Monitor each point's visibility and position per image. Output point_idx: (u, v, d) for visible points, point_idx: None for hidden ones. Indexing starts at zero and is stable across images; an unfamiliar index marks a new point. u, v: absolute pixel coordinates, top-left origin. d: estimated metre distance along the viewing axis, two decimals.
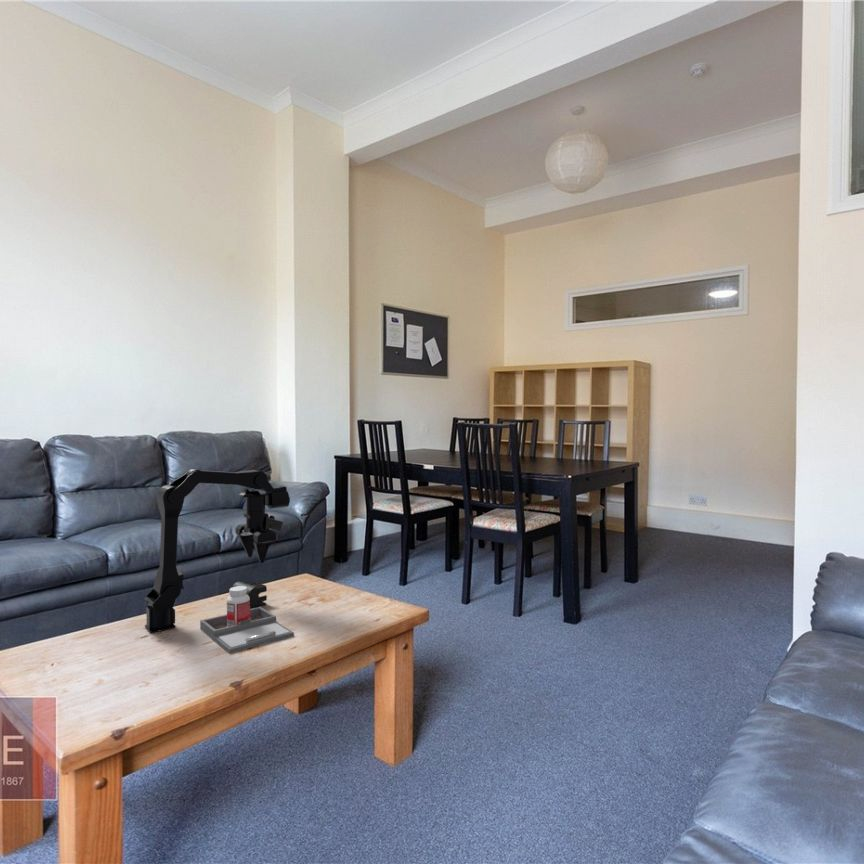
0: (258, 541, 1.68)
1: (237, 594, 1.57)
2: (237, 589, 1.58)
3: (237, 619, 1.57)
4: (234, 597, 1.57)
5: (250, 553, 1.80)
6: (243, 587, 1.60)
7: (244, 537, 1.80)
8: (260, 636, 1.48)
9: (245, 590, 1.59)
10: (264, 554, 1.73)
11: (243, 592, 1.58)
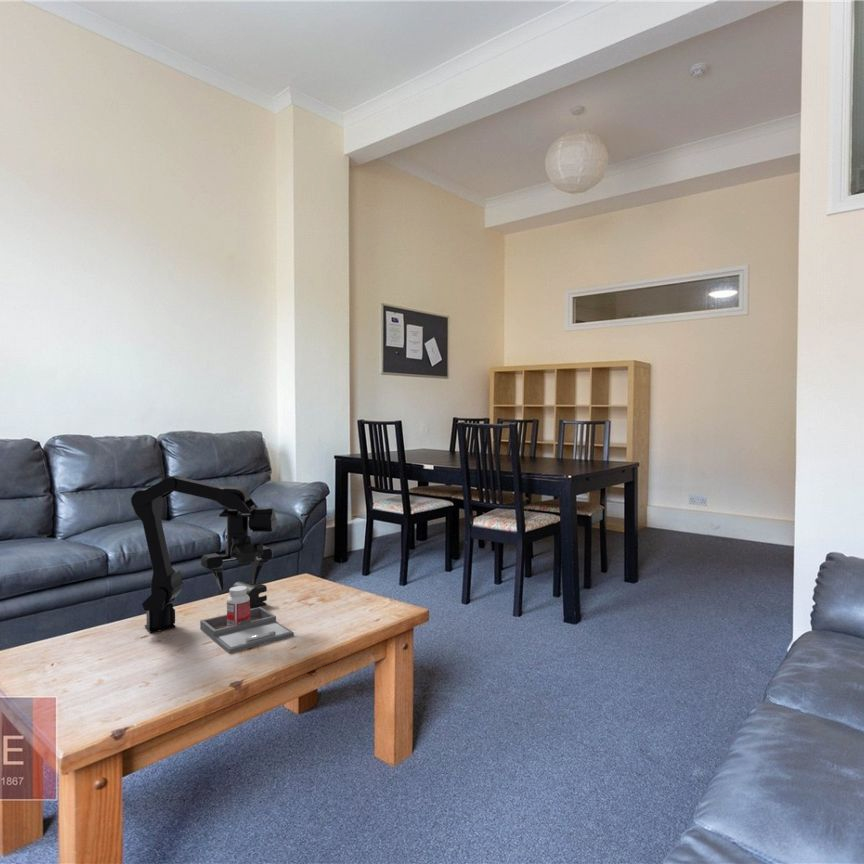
0: None
1: (237, 594, 1.57)
2: (237, 589, 1.58)
3: (237, 619, 1.57)
4: (234, 597, 1.57)
5: (253, 580, 1.62)
6: (243, 587, 1.60)
7: None
8: (260, 636, 1.48)
9: (245, 590, 1.59)
10: (218, 581, 1.55)
11: (243, 592, 1.58)
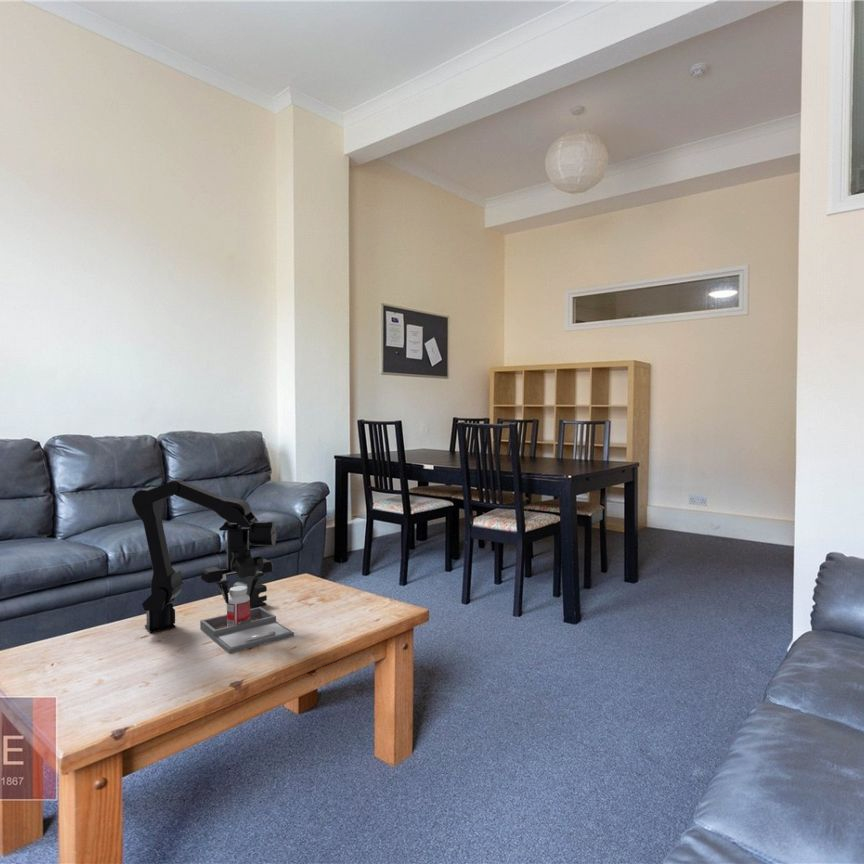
0: None
1: (237, 594, 1.57)
2: (237, 589, 1.58)
3: (237, 619, 1.57)
4: (234, 597, 1.57)
5: (248, 594, 1.61)
6: (243, 587, 1.60)
7: None
8: (260, 636, 1.48)
9: (245, 590, 1.59)
10: (223, 594, 1.56)
11: (243, 592, 1.58)
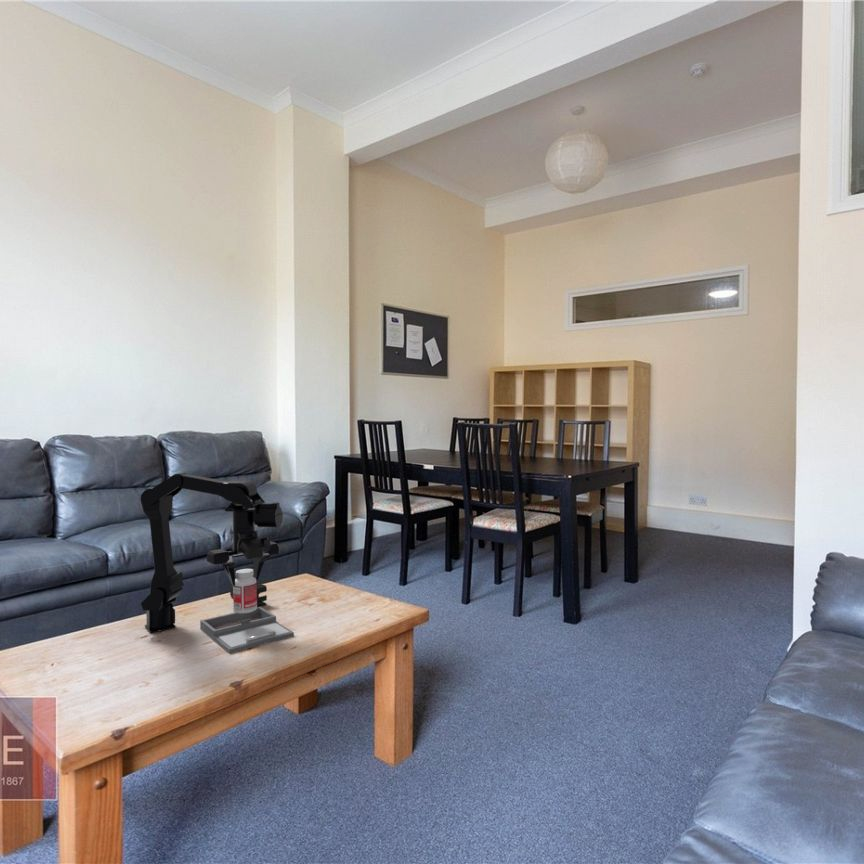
0: None
1: (244, 576, 1.54)
2: (243, 571, 1.55)
3: (244, 602, 1.54)
4: (240, 579, 1.54)
5: (255, 577, 1.58)
6: (249, 569, 1.57)
7: None
8: (260, 636, 1.48)
9: (252, 572, 1.56)
10: (230, 576, 1.53)
11: (250, 574, 1.55)
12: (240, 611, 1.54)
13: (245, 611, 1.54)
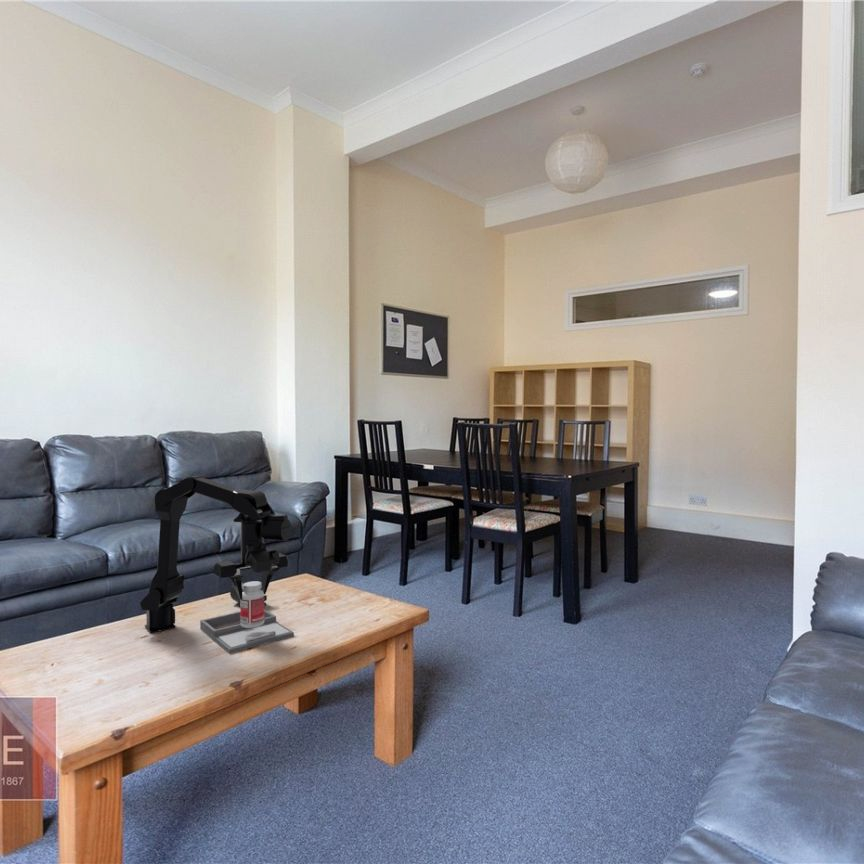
0: None
1: (251, 590, 1.49)
2: (251, 584, 1.51)
3: (251, 616, 1.49)
4: (248, 593, 1.50)
5: (263, 590, 1.54)
6: (257, 582, 1.53)
7: None
8: (260, 636, 1.48)
9: (260, 585, 1.51)
10: (237, 589, 1.49)
11: (258, 588, 1.50)
12: (247, 625, 1.49)
13: (252, 625, 1.49)
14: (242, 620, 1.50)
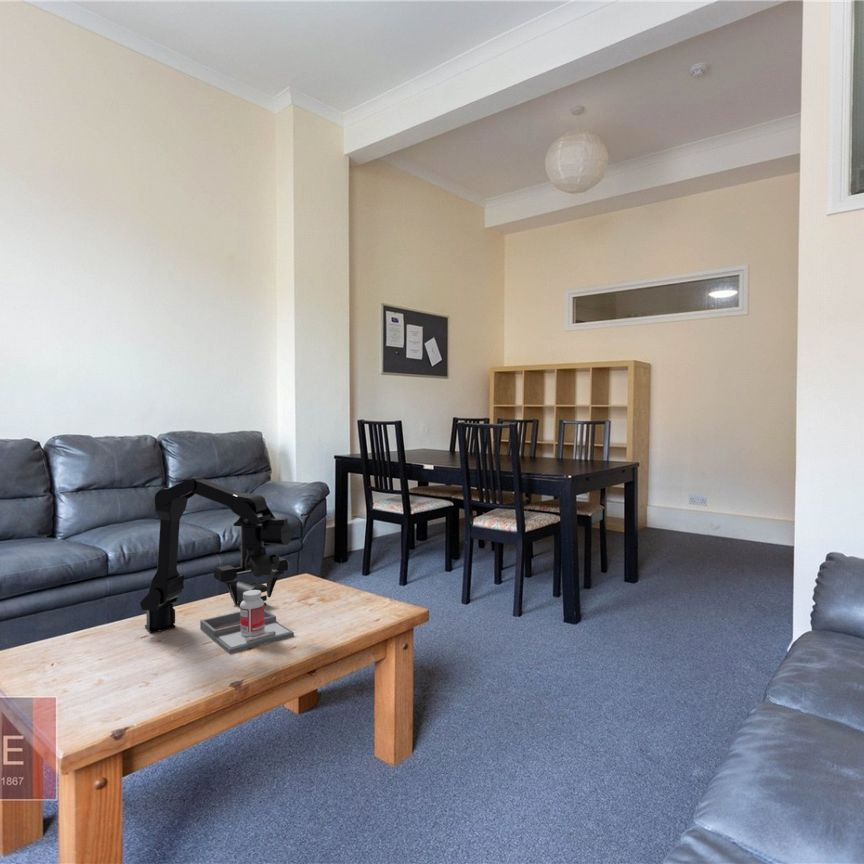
0: None
1: (251, 599, 1.49)
2: (251, 593, 1.51)
3: (251, 625, 1.49)
4: (247, 602, 1.50)
5: (268, 593, 1.55)
6: (257, 591, 1.52)
7: None
8: (260, 636, 1.48)
9: (259, 594, 1.51)
10: (232, 595, 1.48)
11: (257, 596, 1.50)
12: (247, 634, 1.49)
13: (252, 634, 1.49)
14: (242, 629, 1.50)
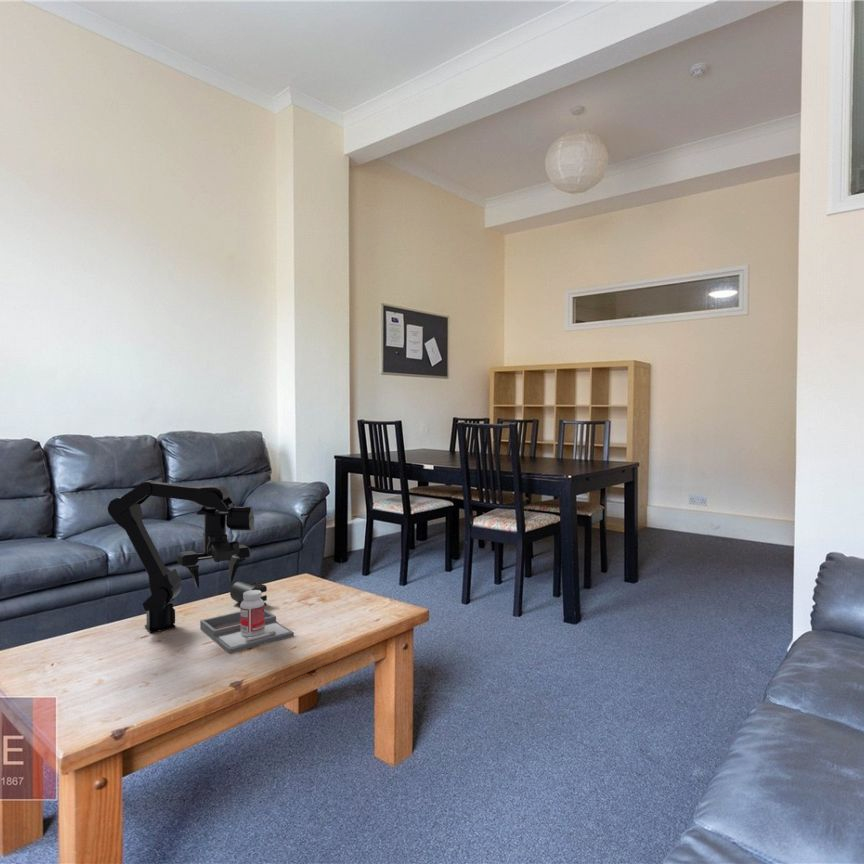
0: None
1: (251, 598, 1.49)
2: (251, 593, 1.51)
3: (251, 625, 1.49)
4: (248, 602, 1.50)
5: (230, 578, 1.63)
6: (257, 591, 1.53)
7: None
8: (260, 636, 1.48)
9: (259, 594, 1.51)
10: (194, 579, 1.56)
11: (257, 596, 1.50)
12: (247, 634, 1.49)
13: (252, 634, 1.49)
14: (242, 629, 1.50)
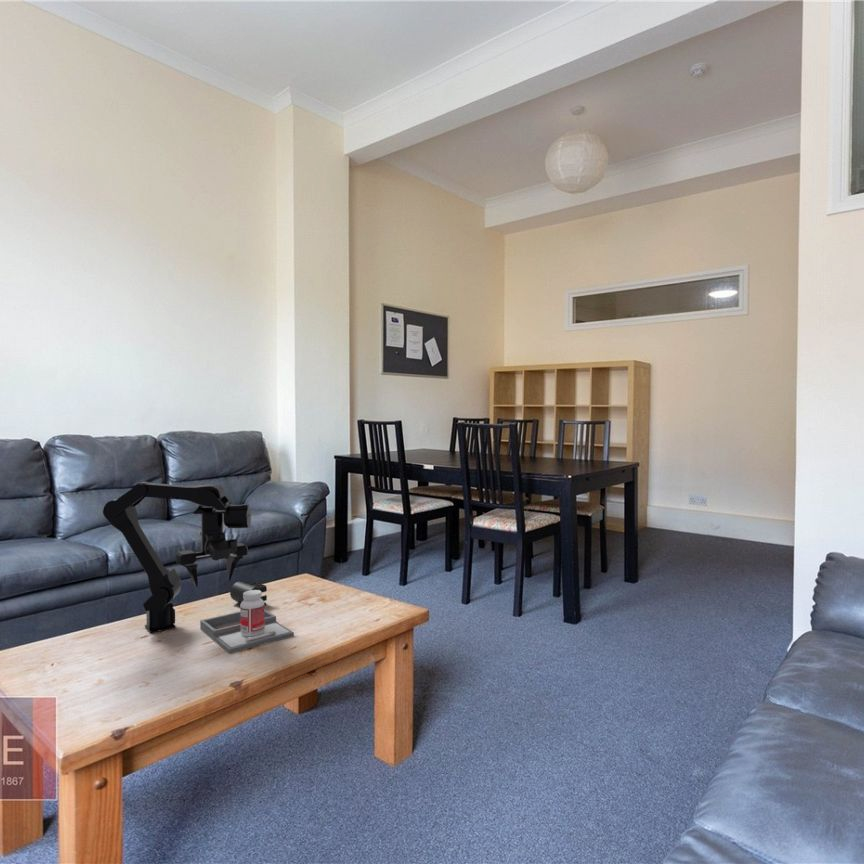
0: None
1: (251, 599, 1.49)
2: (251, 593, 1.51)
3: (251, 625, 1.49)
4: (248, 602, 1.50)
5: (228, 576, 1.64)
6: (257, 591, 1.53)
7: None
8: (260, 636, 1.48)
9: (259, 594, 1.51)
10: (192, 577, 1.57)
11: (257, 596, 1.50)
12: (247, 634, 1.49)
13: (252, 634, 1.49)
14: (242, 629, 1.50)
